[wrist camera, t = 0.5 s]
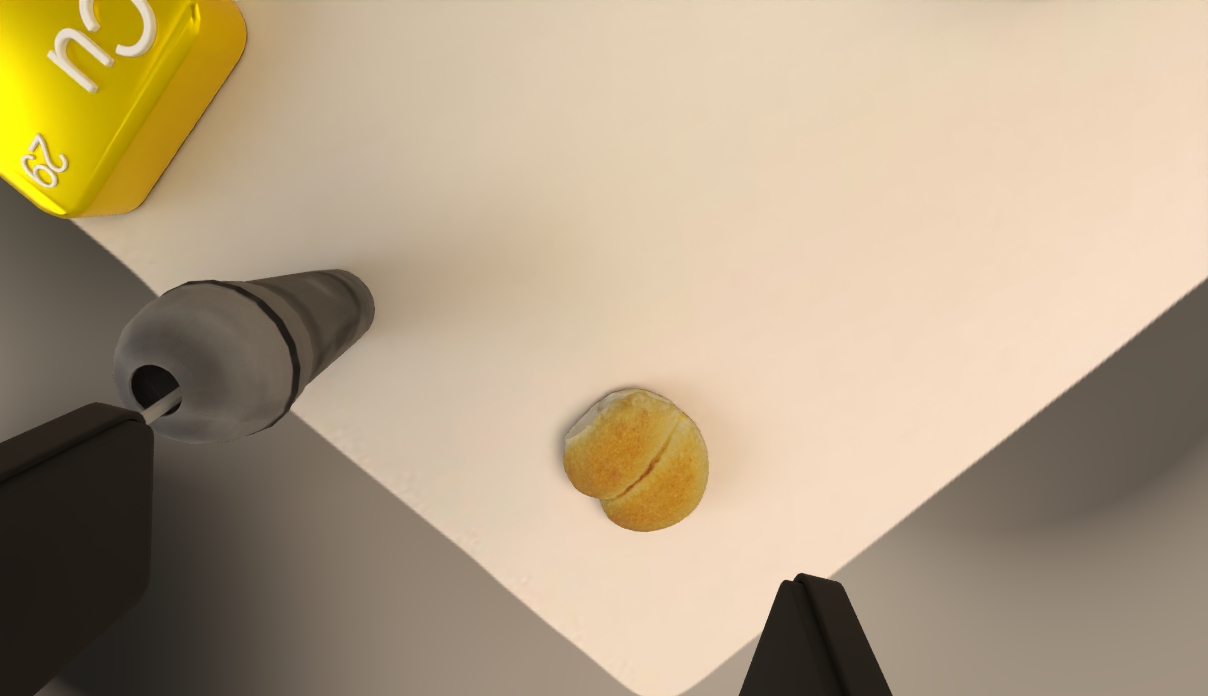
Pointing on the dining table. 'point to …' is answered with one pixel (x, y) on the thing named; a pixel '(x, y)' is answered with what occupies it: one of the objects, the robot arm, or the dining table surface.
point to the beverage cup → (235, 351)
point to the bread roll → (638, 460)
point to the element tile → (106, 94)
